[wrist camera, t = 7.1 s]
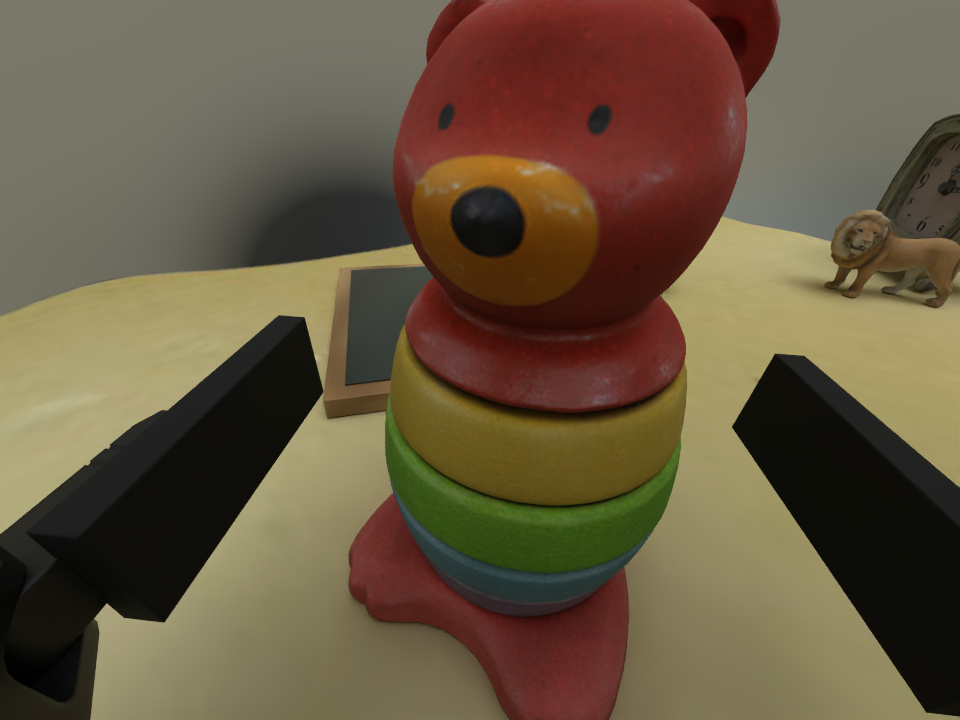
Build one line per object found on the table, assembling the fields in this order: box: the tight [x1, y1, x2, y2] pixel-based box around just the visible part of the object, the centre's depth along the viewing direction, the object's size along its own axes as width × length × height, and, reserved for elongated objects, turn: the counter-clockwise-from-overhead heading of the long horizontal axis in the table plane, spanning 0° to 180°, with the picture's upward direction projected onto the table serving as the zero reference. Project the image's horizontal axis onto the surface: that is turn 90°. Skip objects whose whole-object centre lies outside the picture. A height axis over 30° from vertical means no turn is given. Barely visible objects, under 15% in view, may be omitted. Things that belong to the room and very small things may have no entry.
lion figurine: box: [825, 210, 960, 307], centre depth 40 cm, size 15×5×9 cm, turn 85°
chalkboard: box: [323, 264, 433, 418], centre depth 33 cm, size 20×22×2 cm
